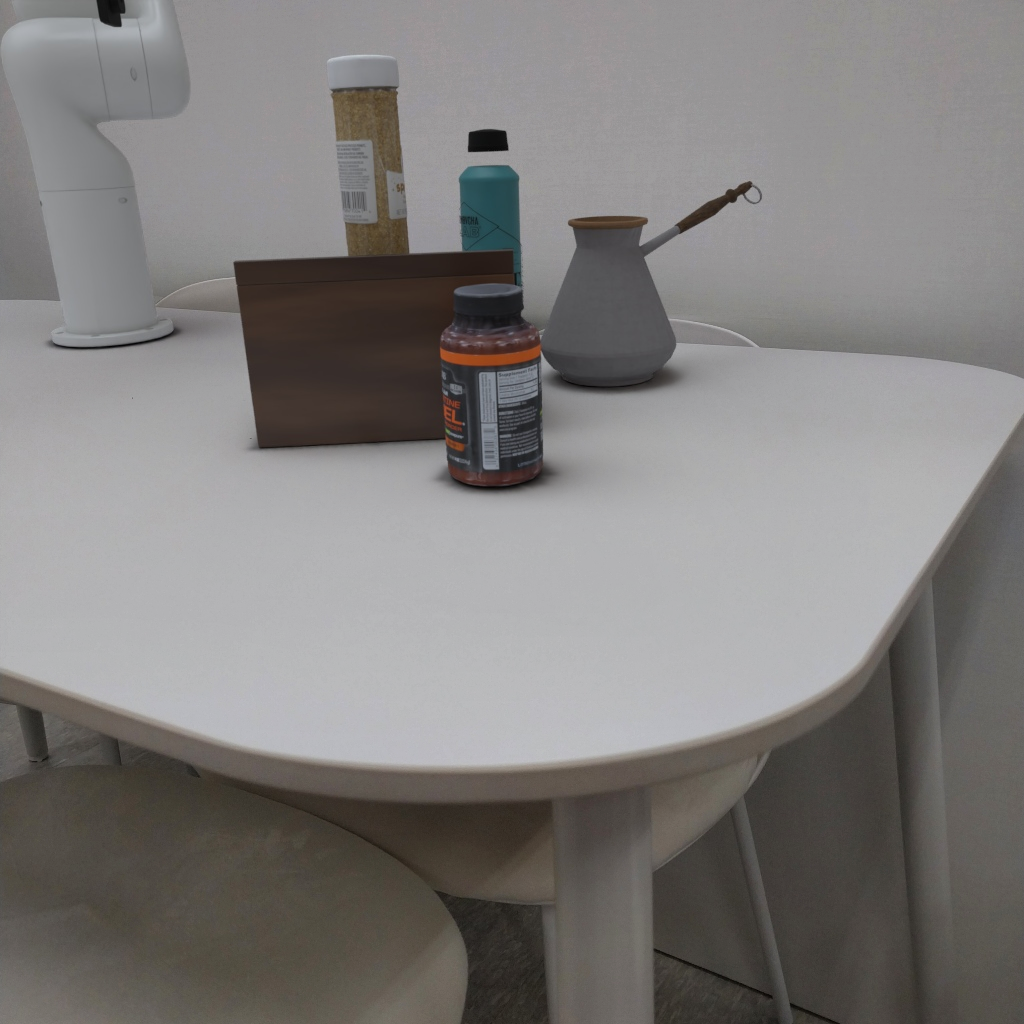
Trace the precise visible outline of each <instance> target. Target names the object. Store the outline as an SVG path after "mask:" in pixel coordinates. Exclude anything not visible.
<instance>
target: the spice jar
mask: <svg viewBox="0 0 1024 1024" xmlns="http://www.w3.org/2000/svg"><path fill="white" fill-rule="evenodd" d="M326 73H327V86H328V90H330V91H331V92H332V93H330V97H331V98H332V109H333V116H334V128H335V129H334V130H335V150H336V151H335V152H336V160H337V170H338V171H337V172H338V180H339V181H338V182H339V190H340V191H339V193H340V201H341V209H342V210H341V211H342V219H343V222H344V227H345V240H346V246H347V256H359V255H382V254H406V253H410V242H409V230H408V206H407V196H406V186H405V172H404V158H403V146H402V144H401V132H400V119H399V118H400V117H399V106H398V105H399V104H398V94H399V92H398V91H397V89H399V87H400V75H399V64H398V60H397V59H396V57H394V56H392V55H382V54H352V55H342V56H336V57H331V58H329V59H328V60H327V61H326Z"/></svg>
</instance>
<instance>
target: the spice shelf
mask: <svg viewBox="0 0 1024 1024" xmlns="http://www.w3.org/2000/svg"><path fill="white" fill-rule="evenodd" d="M232 264H233V271H234V278H235V284H236V291H237V300H238V308H239V313H240V321H241V328H242V329H241V330H242V337H243V344H244V352H245V358H246V359H245V360H246V366H247V372H248V380H249V387H250V396H251V403H252V410H253V418H254V425H255V433H256V438H257V447H258V448H279V447H298V446H299V447H300V446H318V445H319V446H321V445H335V444H336V445H340V444H359V443H360V444H361V443H379V442H380V443H381V442H399V441H417V440H420V441H421V440H438V439H446V438H445V425H444V424H445V421H444V405H443V389H442V372H441V355H440V338H441V335H442V333H443V331H444V330H445V329H446V328H448V327H449V326H451V325H452V323H453V320H454V317H455V312H454V310H453V308H454V291H455V290H456V289H457V288H460V287H464V286H470V285H478V284H511V285H514V255H513V249H502V250H478V251H462V250H456V251H433V252H432V251H431V252H409V253H406V254H382V255H359V256H348V255H336V256H315V257H314V256H313V257H311V256H310V257H290V258H289V257H287V258H266V259H243V260H242V259H241V260H234V261H233V263H232Z"/></svg>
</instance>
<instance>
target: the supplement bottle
mask: <svg viewBox="0 0 1024 1024" xmlns="http://www.w3.org/2000/svg"><path fill="white" fill-rule="evenodd" d="M523 297H524V290H523V289H522V288H521V287H519V286H515V285H511V284H478V285H470V286H464V287H460V288H457V289H456V290H455V291H454V308H453V310H454V312H455V317H454V320H453V323H452V325H451V326H449V327H448V328H446V329H445V330H444V331H443V333H442V335H441V338H440V355H441V372H442V389H443V405H444V421H445V424H444V425H445V438H444V439H445V450H446V452H445V453H446V461H447V470H448V472H449V474H450V476H452V478H454V479H455V480H457V481H459V482H461V483H463V484H465V485H469V486H475V487H484V488H489V487H499V488H500V487H509V486H514V485H518V484H523V483H526V482H529V481H531V480H533V479H534V478H535V477H536V476H537V475H538V474H540V473H541V472H542V469H543V465H544V426H543V425H544V424H543V422H544V421H543V384H542V383H543V381H542V377H543V376H542V352H541V342H540V340H541V336H540V333H539V330H538V329H537V327H536V326H535V325H533V323H530V322H529V321H527V320H526V319H525V318H524V317H523V316H522V312H521V311H523V310H524V309H525V304H524V302H523V300H524V298H523Z"/></svg>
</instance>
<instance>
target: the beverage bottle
mask: <svg viewBox="0 0 1024 1024" xmlns="http://www.w3.org/2000/svg"><path fill="white" fill-rule="evenodd" d="M467 136H468V138H467V141H468V142H467V153H491V152H492V153H493V152H509V142H508V133H507V130H503V129H496V128H483V129H477V130H472V131H469V132H468V135H467ZM458 183H459V202H460V203H459V204H460V207H459V210H458V211H459V213H460V214H459V215H458V217H459V219H458V220H459V221H458V222H459V225H460V230H459V237H461V251H478V250H502V249H513V255H514V285H515V286H519V287H521V288H522V290H524V282H523V270H522V268H524V265H523V263H522V261H524V260H523V258H524V257H523V256H522V255H523V252H522V251H523V245H522V243H521V220H520V219H521V216H520V214H521V213H520V212H521V211H520V175H519V173H517V171H516V170H514V168H513V167H511V166H510V165H509V164H492V165H491V164H488V165H487V164H486V165H485V164H484V165H470V166H467V167H466V168H465V169H464V170H463V171H462V173H460V175H459V177H458ZM524 300H525V299H524V296H523V303H524V302H525V301H524ZM522 311H523V310H522ZM522 311H521V313H522Z"/></svg>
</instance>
